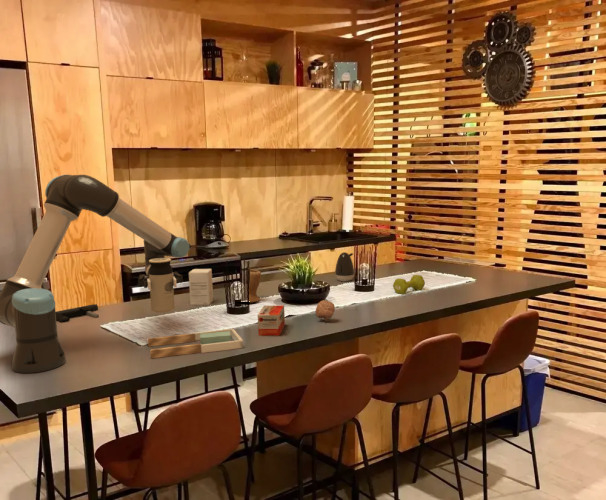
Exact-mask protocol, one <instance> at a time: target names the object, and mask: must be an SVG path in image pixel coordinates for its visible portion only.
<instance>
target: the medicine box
mask: <svg viewBox="0 0 606 500" xmlns="http://www.w3.org/2000/svg"><path fill="white" fill-rule="evenodd" d="M285 317H286V316H285V305H283V304H282V305H275V304H274V305H273V304H272V305H263V306H262V308H261V309H260V311H259V312H258V314H257V326H258V327H257V329H258V332H257V333H258V336H259V337H260V336H261V337H262V336H263V337H264V336H265V337H266V336H267V337H269V336H271V337H272V336H274V337H275V336H277V337H280V336H281V334H282V331H283V329H284V327H285V325H286V324H285V323H286V322H285V321H286V320H285Z"/></svg>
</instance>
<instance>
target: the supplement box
mask: <svg viewBox="0 0 606 500" xmlns="http://www.w3.org/2000/svg"><path fill="white" fill-rule="evenodd" d="M212 272H213V271H212V268H194V269H192V270H190V271H189V272H188V283H189V284H188V285H189V301H190V303H189V304H190V306H200V305H201V306H202V305H203V306H206V305H207V306H209V305H211V304H212V302H213V301H214V293H213V292H214V291H213V290H214V289H213V273H212Z"/></svg>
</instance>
